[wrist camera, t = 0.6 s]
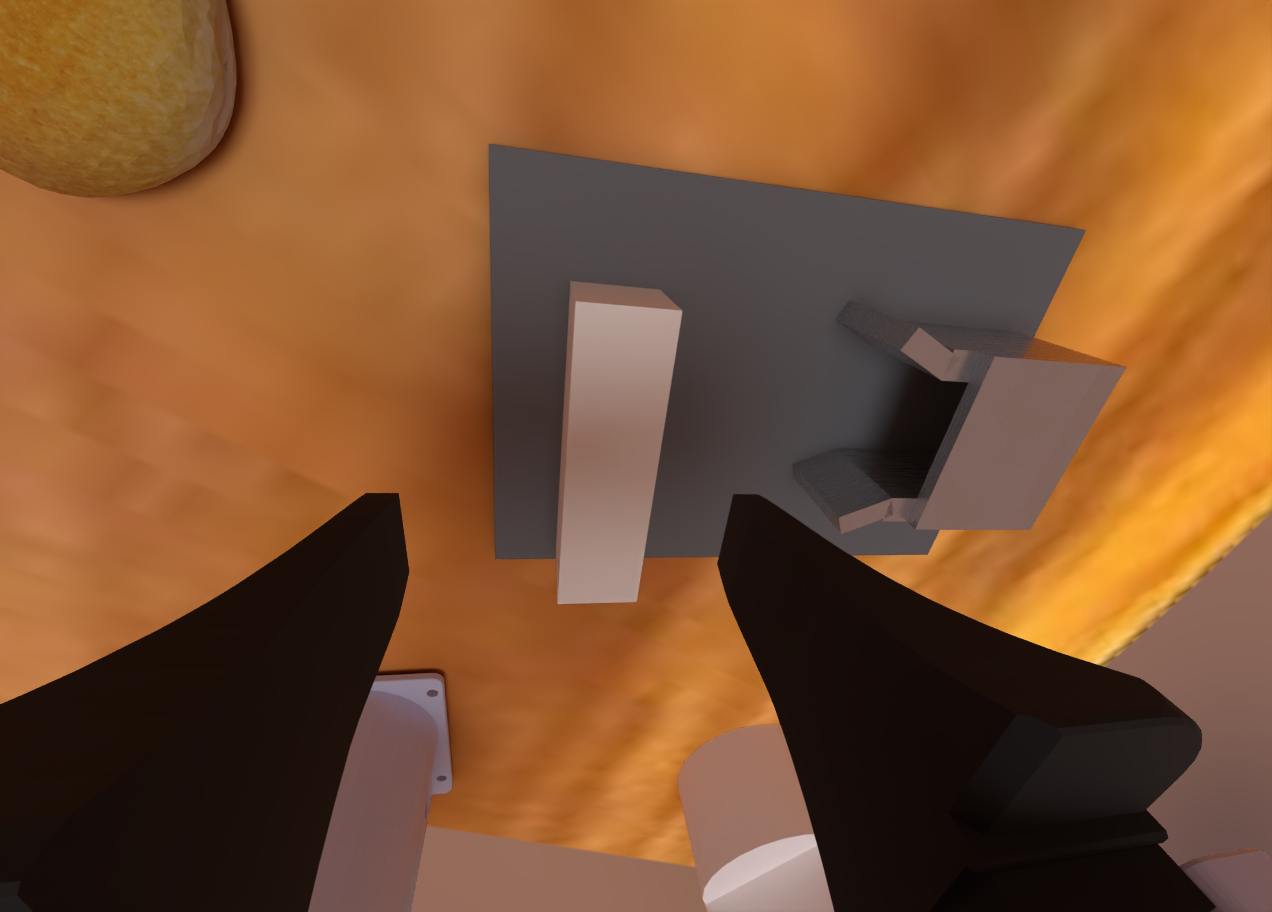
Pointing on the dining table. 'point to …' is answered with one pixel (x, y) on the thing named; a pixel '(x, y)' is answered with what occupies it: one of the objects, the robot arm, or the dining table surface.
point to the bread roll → (112, 91)
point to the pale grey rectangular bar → (611, 436)
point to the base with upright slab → (751, 825)
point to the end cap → (967, 430)
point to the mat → (739, 332)
